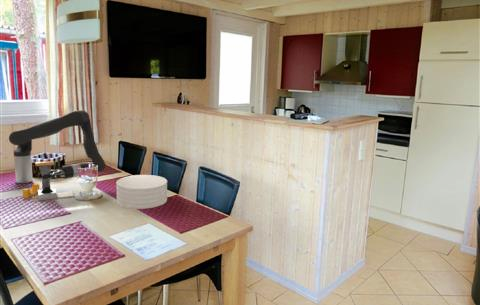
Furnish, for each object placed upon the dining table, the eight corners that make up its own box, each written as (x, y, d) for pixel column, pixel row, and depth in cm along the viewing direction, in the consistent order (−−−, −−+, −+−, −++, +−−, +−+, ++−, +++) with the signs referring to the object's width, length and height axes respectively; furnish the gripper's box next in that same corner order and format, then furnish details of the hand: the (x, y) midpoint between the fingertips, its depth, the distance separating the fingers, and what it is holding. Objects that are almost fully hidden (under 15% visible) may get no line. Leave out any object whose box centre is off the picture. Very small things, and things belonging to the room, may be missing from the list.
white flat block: (38, 196, 204) (37, 190, 203) (55, 194, 208) (54, 188, 207) (39, 200, 196) (38, 194, 196) (56, 198, 201) (56, 192, 200)
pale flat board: (31, 198, 203) (31, 196, 203) (72, 194, 214) (72, 191, 214) (32, 205, 194) (32, 202, 194) (75, 199, 205) (75, 197, 205)
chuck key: (37, 192, 201) (35, 161, 197) (55, 190, 206) (53, 160, 202) (37, 194, 198) (35, 163, 194) (56, 193, 202) (54, 162, 199)
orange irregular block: (32, 194, 212) (31, 183, 210) (39, 194, 212) (38, 183, 210) (20, 200, 200) (19, 189, 198) (28, 201, 200) (27, 189, 199)
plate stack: (172, 194, 222) (173, 176, 220) (158, 210, 195) (158, 190, 192) (128, 191, 224) (128, 173, 222) (108, 206, 197) (107, 186, 195)
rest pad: (56, 194, 208) (56, 193, 208) (71, 192, 212) (71, 191, 212) (58, 198, 201) (58, 197, 201) (73, 196, 206) (73, 195, 206)
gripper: (64, 162, 214) (34, 167, 201) (77, 167, 206) (45, 172, 192) (65, 174, 216) (34, 180, 202) (77, 180, 207) (46, 186, 194)
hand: (40, 176), depth 198 cm, fingers closed on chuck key, 4 cm apart
